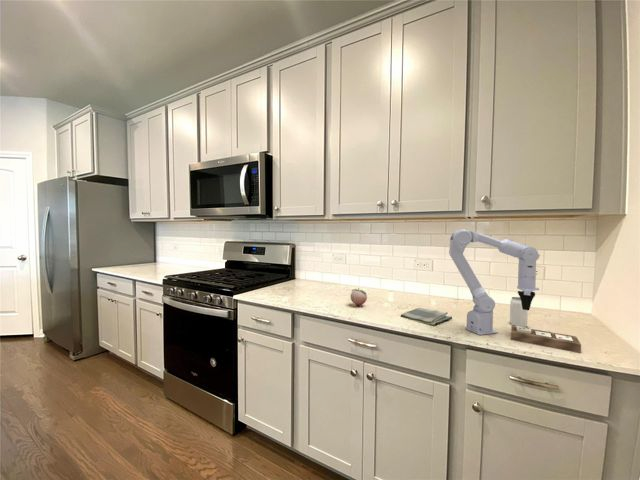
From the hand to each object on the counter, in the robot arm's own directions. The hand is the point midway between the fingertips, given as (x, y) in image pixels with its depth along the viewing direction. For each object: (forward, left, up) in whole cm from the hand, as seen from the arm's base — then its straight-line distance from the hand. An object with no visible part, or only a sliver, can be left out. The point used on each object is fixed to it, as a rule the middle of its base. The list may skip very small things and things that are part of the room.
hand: (525, 309), depth 113 cm
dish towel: (-25, +29, -11) cm, 40 cm away
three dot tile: (-4, -3, -9) cm, 11 cm away
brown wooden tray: (0, -7, -10) cm, 13 cm away
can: (+9, +10, -11) cm, 17 cm away
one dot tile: (0, -7, -11) cm, 13 cm away
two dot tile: (+4, -12, -11) cm, 17 cm away
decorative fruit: (-49, +56, -11) cm, 75 cm away
